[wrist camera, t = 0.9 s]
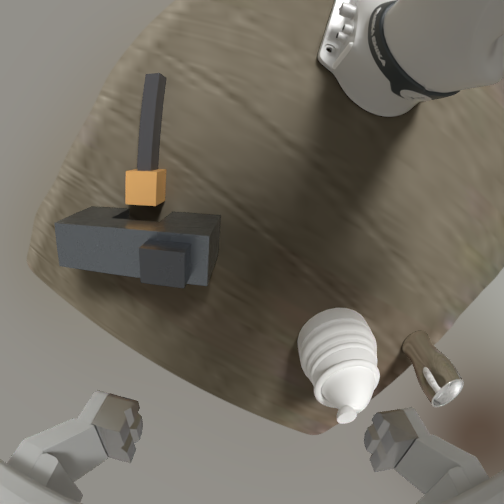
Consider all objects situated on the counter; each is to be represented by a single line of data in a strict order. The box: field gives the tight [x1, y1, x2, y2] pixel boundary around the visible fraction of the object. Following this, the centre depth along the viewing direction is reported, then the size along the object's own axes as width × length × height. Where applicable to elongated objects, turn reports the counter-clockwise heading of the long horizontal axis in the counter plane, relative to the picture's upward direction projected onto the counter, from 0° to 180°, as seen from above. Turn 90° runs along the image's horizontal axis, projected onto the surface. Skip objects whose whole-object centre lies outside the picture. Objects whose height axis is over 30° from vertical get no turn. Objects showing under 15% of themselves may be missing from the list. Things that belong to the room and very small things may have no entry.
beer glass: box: [402, 330, 464, 407], centre depth 41 cm, size 7×7×15 cm
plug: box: [126, 73, 166, 206], centre depth 35 cm, size 18×4×4 cm, turn 174°
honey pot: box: [297, 308, 380, 424], centre depth 39 cm, size 13×13×18 cm
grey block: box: [55, 207, 221, 288], centre depth 35 cm, size 6×21×13 cm, turn 85°
